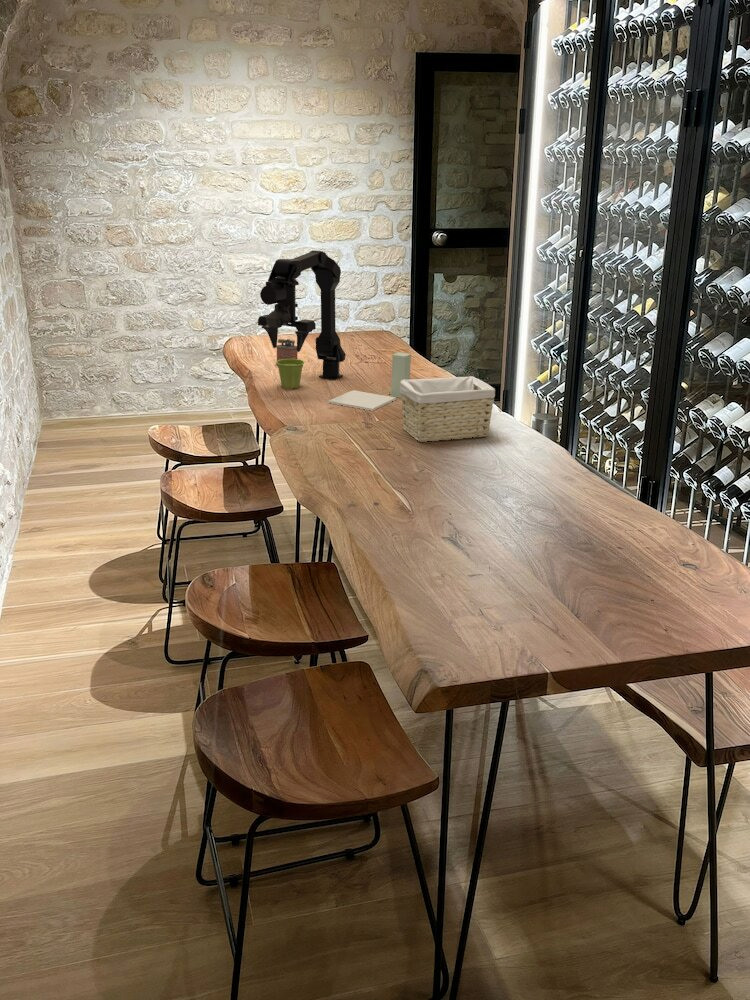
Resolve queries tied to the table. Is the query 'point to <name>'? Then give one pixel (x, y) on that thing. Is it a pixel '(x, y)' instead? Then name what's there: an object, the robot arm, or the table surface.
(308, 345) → the table surface
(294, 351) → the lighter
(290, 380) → the plant pot
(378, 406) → the tile
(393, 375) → the block
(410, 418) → the storage basket
